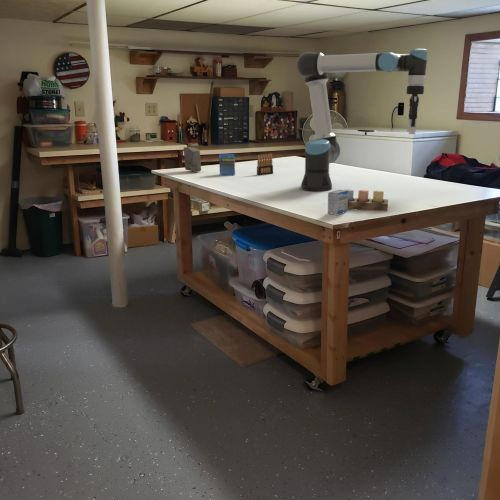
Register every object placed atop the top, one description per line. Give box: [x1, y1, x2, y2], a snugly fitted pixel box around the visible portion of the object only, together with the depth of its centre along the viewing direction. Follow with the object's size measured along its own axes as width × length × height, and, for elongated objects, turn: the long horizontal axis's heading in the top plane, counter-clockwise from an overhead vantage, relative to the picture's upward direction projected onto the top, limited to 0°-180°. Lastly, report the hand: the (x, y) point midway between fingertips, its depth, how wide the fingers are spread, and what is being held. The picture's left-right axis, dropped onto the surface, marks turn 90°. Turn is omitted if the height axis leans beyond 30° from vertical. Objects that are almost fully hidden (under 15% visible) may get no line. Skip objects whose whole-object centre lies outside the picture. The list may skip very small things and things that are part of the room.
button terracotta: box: [357, 189, 369, 202], centre depth 212 cm, size 4×4×5 cm
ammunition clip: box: [256, 153, 274, 177], centre depth 299 cm, size 11×2×12 cm, turn 125°
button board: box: [347, 197, 389, 212], centre depth 213 cm, size 20×9×3 cm, turn 74°
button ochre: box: [372, 190, 384, 203], centre depth 211 cm, size 4×4×5 cm
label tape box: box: [218, 153, 236, 176], centre depth 299 cm, size 9×4×12 cm, turn 84°
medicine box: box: [327, 189, 348, 215], centre depth 204 cm, size 8×4×9 cm, turn 138°
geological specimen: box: [182, 146, 202, 173], centre depth 311 cm, size 11×6×15 cm, turn 35°
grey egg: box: [346, 189, 355, 201], centre depth 214 cm, size 4×4×5 cm
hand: (411, 132), depth 242 cm, fingers open, 13 cm apart
